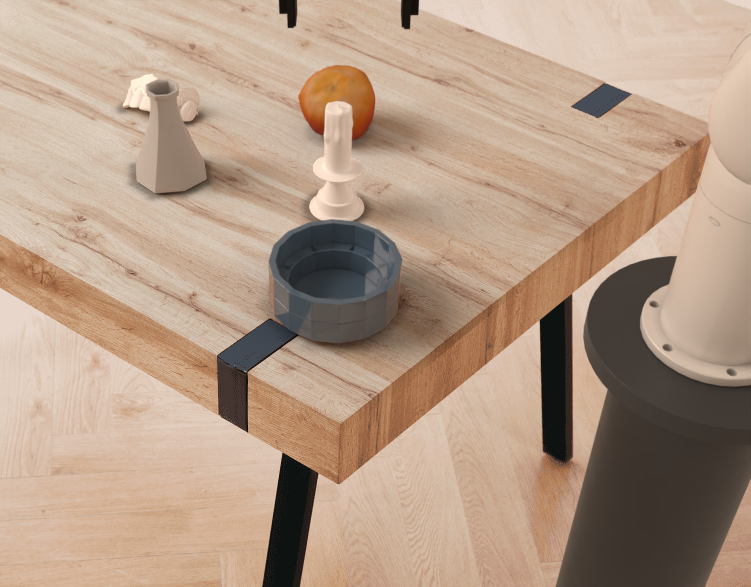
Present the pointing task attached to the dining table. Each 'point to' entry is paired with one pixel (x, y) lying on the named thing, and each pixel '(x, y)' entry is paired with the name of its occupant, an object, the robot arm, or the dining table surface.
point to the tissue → (139, 98)
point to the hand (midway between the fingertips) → (349, 21)
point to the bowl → (335, 280)
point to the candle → (337, 168)
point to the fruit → (338, 97)
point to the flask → (167, 144)
